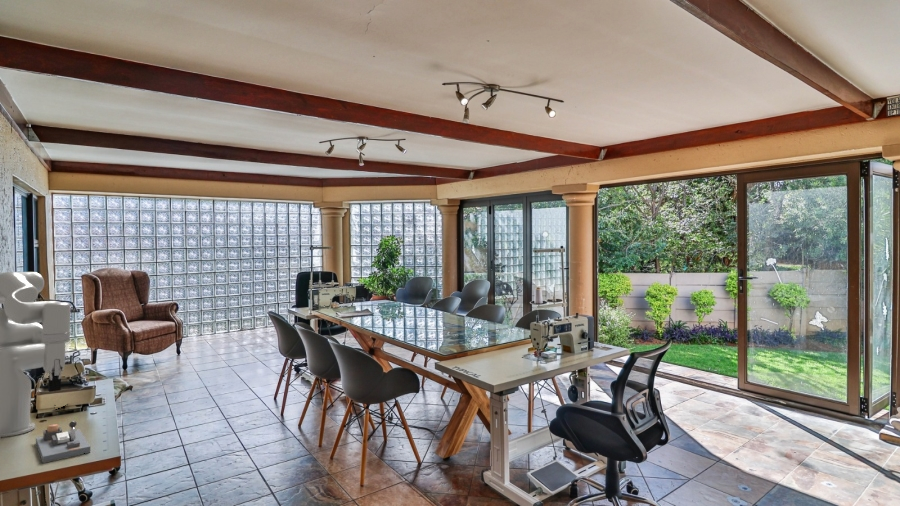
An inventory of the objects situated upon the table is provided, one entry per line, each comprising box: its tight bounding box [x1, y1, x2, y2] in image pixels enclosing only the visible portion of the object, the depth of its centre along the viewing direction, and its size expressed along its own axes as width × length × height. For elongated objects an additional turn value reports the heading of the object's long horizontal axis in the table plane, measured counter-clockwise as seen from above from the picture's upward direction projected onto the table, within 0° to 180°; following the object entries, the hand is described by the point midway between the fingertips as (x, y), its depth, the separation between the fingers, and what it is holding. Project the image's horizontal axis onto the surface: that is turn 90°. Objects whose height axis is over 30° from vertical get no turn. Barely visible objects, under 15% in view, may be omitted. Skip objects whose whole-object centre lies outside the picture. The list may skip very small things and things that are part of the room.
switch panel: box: [35, 426, 91, 464], centre depth 160 cm, size 22×12×4 cm, turn 46°
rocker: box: [56, 430, 70, 443], centre depth 160 cm, size 5×3×1 cm, turn 46°
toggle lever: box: [68, 420, 78, 440], centre depth 157 cm, size 2×2×6 cm
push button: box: [46, 423, 59, 433], centre depth 163 cm, size 3×3×3 cm
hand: (54, 390), depth 163 cm, fingers closed
